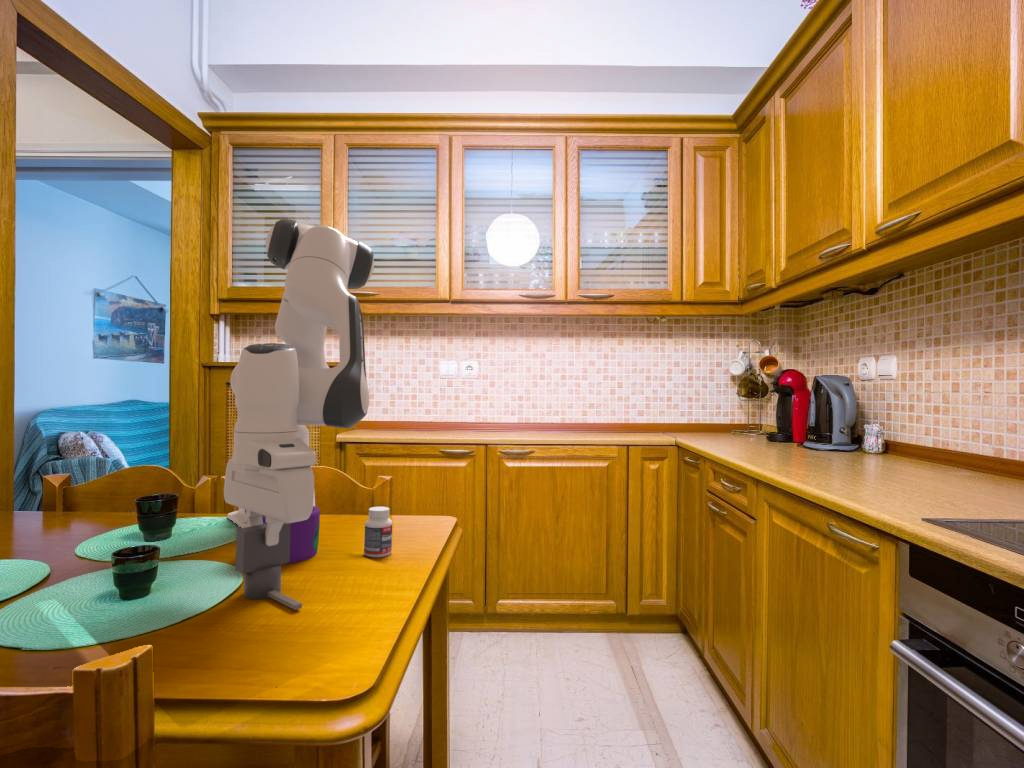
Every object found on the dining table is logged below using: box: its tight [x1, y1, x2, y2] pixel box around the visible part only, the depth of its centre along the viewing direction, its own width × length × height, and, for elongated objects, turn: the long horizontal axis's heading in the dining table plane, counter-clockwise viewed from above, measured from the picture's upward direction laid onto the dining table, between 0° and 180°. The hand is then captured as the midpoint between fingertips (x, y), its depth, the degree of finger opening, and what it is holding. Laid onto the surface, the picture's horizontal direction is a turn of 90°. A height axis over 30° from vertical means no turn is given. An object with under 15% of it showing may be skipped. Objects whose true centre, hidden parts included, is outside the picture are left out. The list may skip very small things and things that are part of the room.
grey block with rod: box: [235, 522, 303, 611], centre depth 76 cm, size 12×7×10 cm, turn 52°
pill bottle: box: [363, 506, 393, 559], centre depth 103 cm, size 5×5×9 cm
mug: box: [262, 505, 321, 565], centre depth 99 cm, size 17×11×10 cm, turn 15°
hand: (264, 542), depth 78 cm, fingers closed on grey block with rod, 2 cm apart
